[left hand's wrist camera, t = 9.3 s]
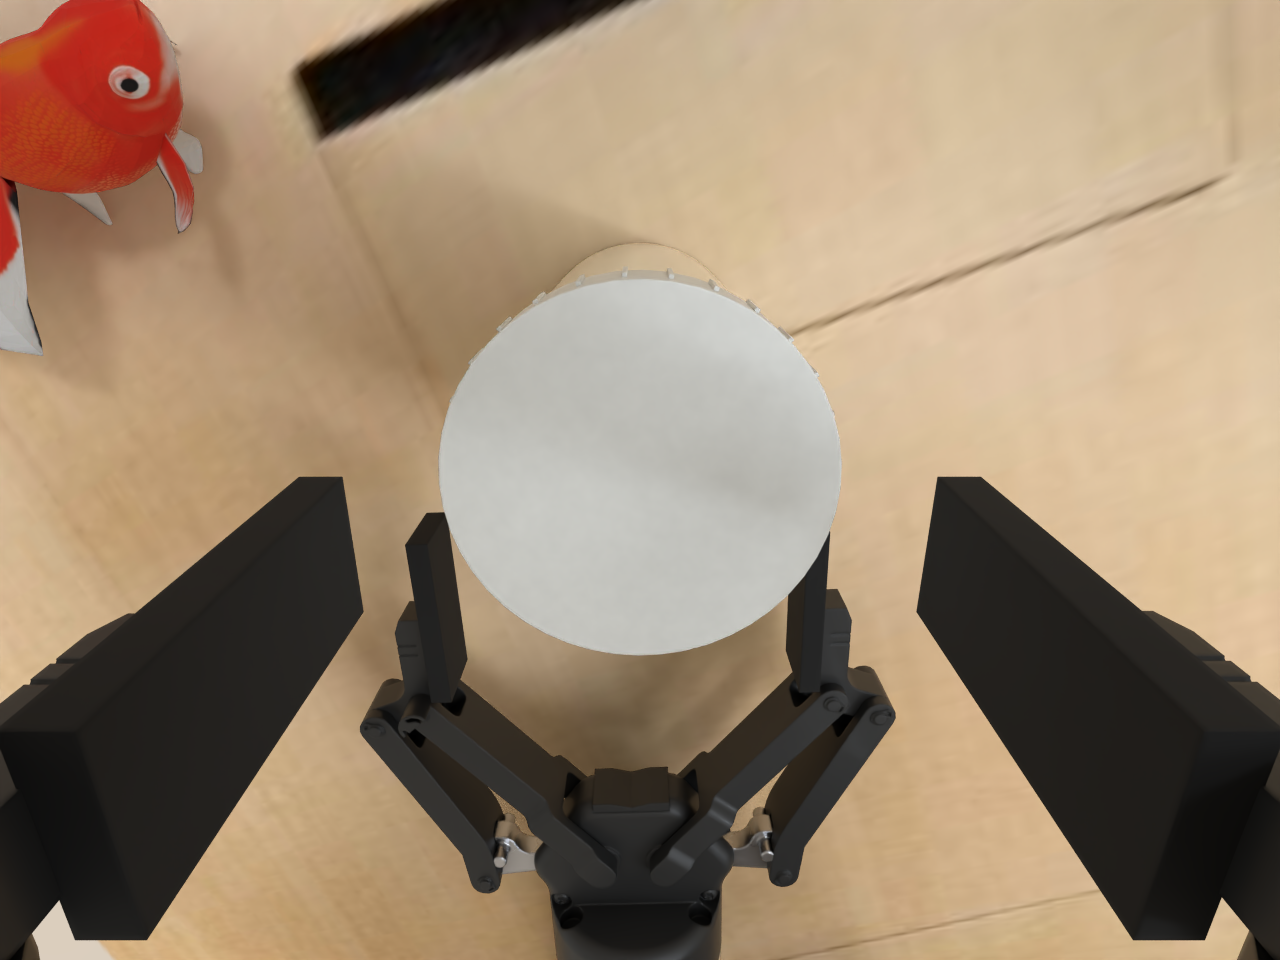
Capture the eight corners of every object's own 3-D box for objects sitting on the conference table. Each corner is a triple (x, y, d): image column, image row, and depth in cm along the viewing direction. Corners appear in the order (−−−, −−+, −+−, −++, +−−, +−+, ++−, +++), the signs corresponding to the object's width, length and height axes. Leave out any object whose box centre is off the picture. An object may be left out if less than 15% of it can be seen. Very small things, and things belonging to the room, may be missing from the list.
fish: (328, 318, 25) (-52, 276, 16) (96, 385, 33) (-247, 381, 24) (283, -4, 25) (-132, -221, 16) (58, 141, 32) (-305, 47, 24)
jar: (550, 227, 29) (465, 260, 15) (758, 259, 29) (867, 320, 15) (530, 428, 32) (445, 614, 18) (720, 455, 32) (781, 656, 18)
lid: (466, 236, 16) (444, 242, 14) (866, 297, 16) (893, 310, 15) (445, 592, 19) (425, 633, 17) (781, 635, 20) (795, 679, 18)
